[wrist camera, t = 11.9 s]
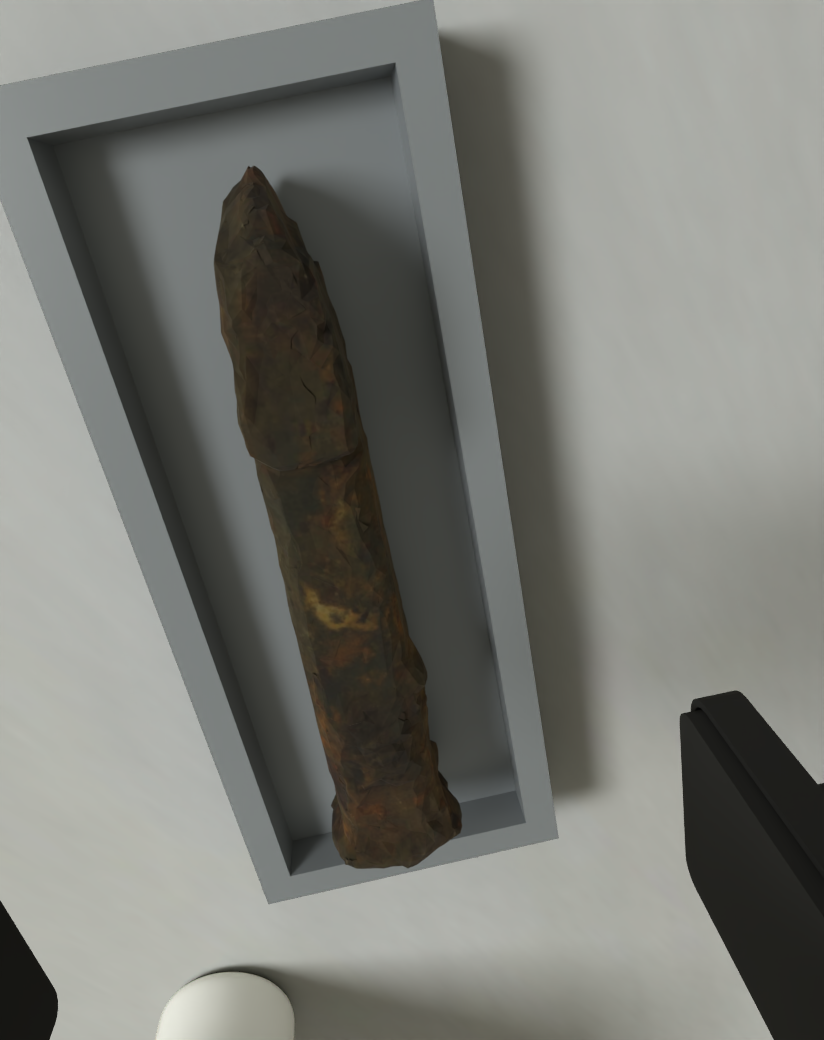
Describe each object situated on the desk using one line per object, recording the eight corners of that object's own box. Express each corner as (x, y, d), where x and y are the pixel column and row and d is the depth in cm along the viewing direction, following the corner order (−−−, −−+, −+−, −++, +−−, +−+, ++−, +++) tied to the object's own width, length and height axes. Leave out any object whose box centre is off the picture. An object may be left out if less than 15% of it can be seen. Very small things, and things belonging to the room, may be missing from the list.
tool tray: (419, 28, 17) (433, -3, 15) (539, 785, 27) (558, 838, 24) (10, 112, 17) (-41, 93, 15) (274, 845, 26) (268, 904, 24)
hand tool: (449, 771, 25) (474, 884, 20) (334, 791, 24) (335, 910, 20) (373, 162, 17) (388, 138, 13) (209, 182, 17) (170, 165, 13)
